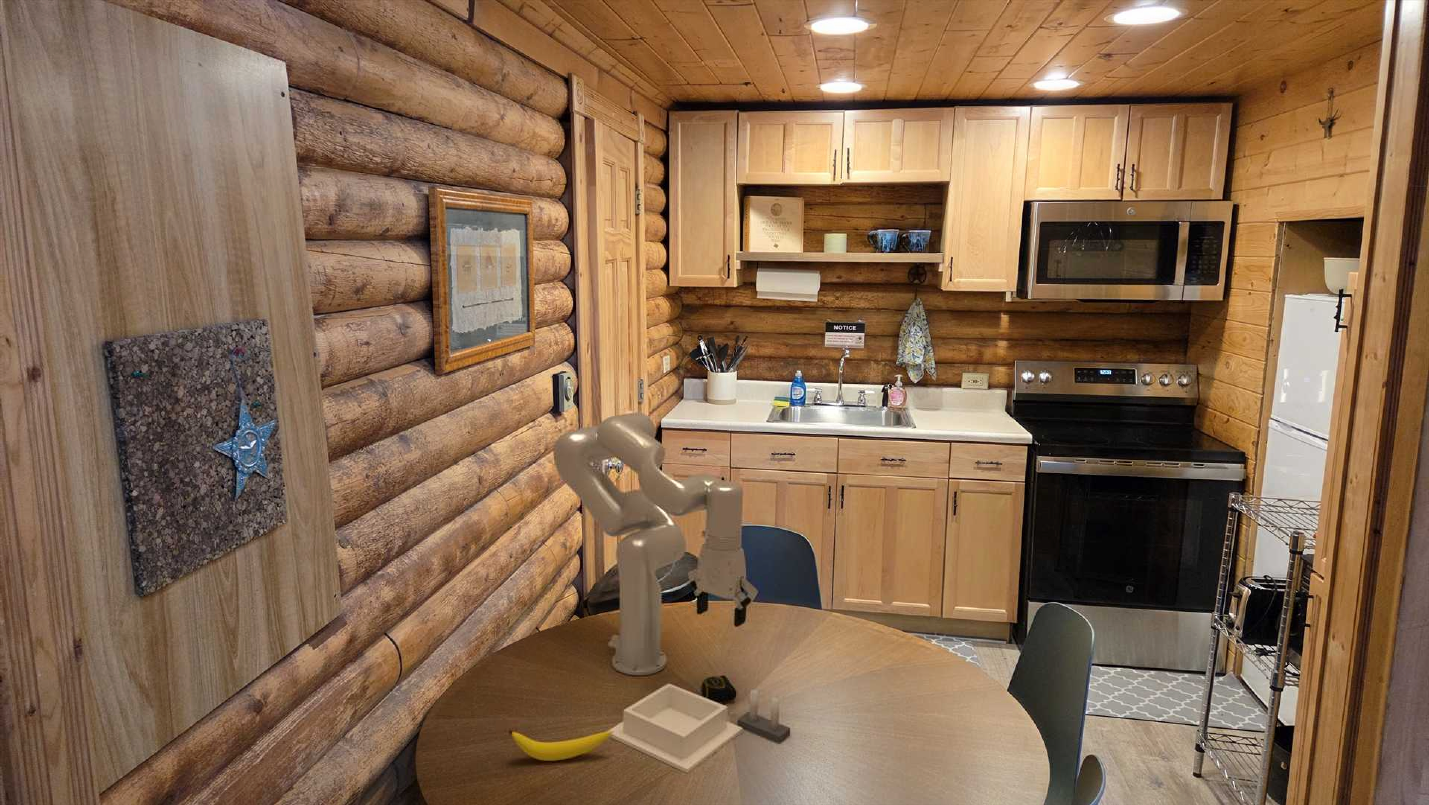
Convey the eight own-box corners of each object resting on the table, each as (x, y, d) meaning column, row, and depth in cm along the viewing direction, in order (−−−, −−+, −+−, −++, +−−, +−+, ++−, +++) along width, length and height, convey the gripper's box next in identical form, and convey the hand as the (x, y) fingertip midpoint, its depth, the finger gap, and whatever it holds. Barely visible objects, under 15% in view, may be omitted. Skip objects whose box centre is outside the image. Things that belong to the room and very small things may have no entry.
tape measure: (737, 704, 178) (737, 687, 178) (706, 708, 176) (707, 691, 176) (726, 688, 185) (727, 672, 184) (697, 692, 183) (697, 676, 182)
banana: (612, 760, 157) (613, 728, 156) (508, 767, 153) (507, 735, 152) (612, 751, 159) (612, 720, 158) (509, 757, 156) (509, 726, 155)
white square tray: (606, 735, 165) (607, 710, 164) (664, 699, 179) (665, 676, 178) (687, 773, 153) (688, 746, 152) (742, 731, 168) (743, 707, 167)
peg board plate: (737, 726, 170) (738, 691, 168) (748, 718, 173) (749, 684, 172) (779, 743, 164) (781, 708, 163) (789, 735, 167) (791, 699, 166)
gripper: (679, 536, 177) (677, 613, 180) (747, 554, 167) (744, 635, 170) (700, 528, 183) (698, 602, 186) (767, 545, 173) (764, 623, 176)
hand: (720, 618), depth 178 cm, fingers open, 9 cm apart
